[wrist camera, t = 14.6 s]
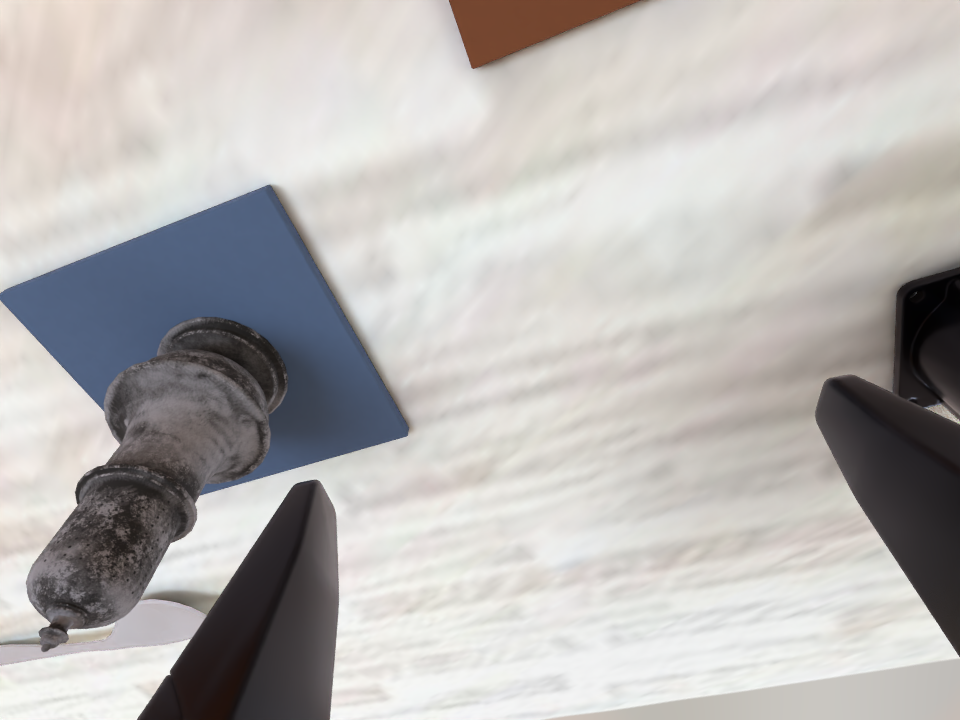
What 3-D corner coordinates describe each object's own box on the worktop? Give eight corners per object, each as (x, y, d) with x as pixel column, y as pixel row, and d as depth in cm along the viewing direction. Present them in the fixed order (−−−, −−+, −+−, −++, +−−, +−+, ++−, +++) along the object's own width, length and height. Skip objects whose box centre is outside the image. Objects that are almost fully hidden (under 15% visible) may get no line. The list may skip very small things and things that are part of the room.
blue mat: (409, 428, 27) (408, 436, 26) (190, 490, 29) (185, 500, 28) (270, 183, 20) (265, 189, 20) (5, 289, 23) (-5, 296, 22)
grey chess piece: (324, 381, 24) (216, 663, 14) (234, 445, 26) (85, 731, 16) (211, 282, 22) (-16, 540, 12) (121, 361, 24) (-138, 639, 14)
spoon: (240, 615, 35) (230, 641, 34) (-22, 678, 39) (-40, 703, 38) (199, 575, 33) (186, 601, 31) (-74, 645, 37) (-95, 671, 35)
